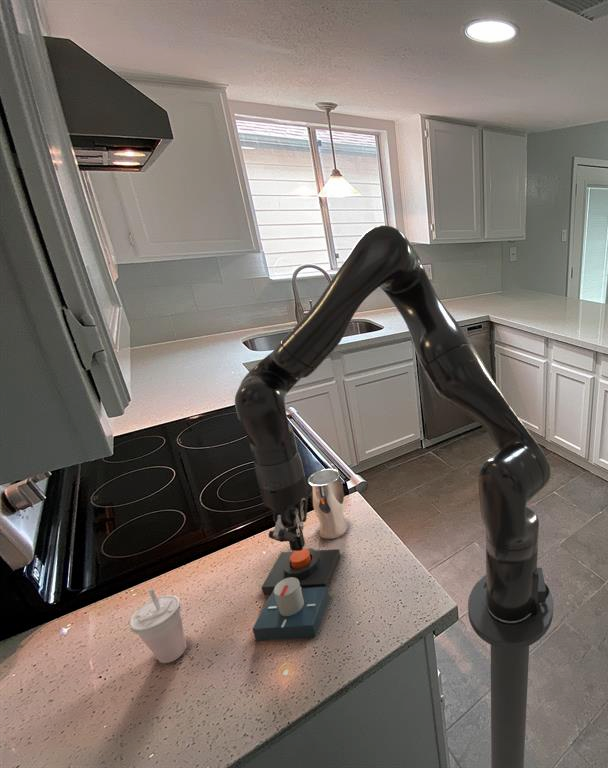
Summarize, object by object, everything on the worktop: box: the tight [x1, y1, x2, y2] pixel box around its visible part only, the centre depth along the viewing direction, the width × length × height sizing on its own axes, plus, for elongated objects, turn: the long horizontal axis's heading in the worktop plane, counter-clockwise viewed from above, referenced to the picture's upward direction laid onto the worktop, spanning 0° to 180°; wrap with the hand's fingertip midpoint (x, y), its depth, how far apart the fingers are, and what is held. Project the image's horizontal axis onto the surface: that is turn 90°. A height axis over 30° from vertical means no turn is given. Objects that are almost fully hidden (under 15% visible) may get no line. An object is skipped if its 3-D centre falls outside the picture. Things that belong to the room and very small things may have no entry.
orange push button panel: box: [261, 547, 342, 596], centre depth 84 cm, size 12×9×4 cm
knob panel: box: [252, 587, 331, 642], centre depth 75 cm, size 10×8×3 cm
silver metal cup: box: [307, 468, 349, 540], centre depth 94 cm, size 7×7×15 cm
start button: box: [290, 548, 311, 569], centre depth 83 cm, size 4×4×2 cm
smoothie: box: [128, 587, 187, 664], centre depth 67 cm, size 6×6×14 cm
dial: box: [274, 577, 304, 616], centre depth 73 cm, size 4×4×5 cm
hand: (298, 548), depth 82 cm, fingers closed
